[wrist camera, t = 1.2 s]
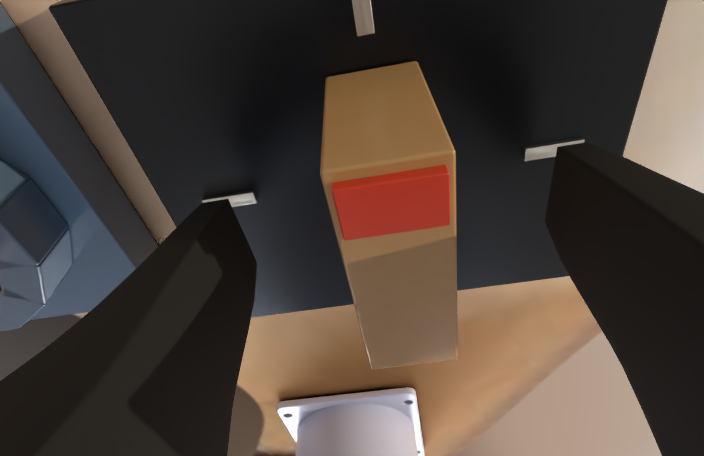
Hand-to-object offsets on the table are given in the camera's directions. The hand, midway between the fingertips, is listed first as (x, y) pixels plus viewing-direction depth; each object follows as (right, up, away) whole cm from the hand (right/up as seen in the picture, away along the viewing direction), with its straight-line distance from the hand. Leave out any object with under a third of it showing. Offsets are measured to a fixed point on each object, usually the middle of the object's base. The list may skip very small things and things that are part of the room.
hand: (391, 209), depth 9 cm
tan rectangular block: (0, +1, +1) cm, 2 cm away
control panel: (0, +3, +3) cm, 5 cm away
